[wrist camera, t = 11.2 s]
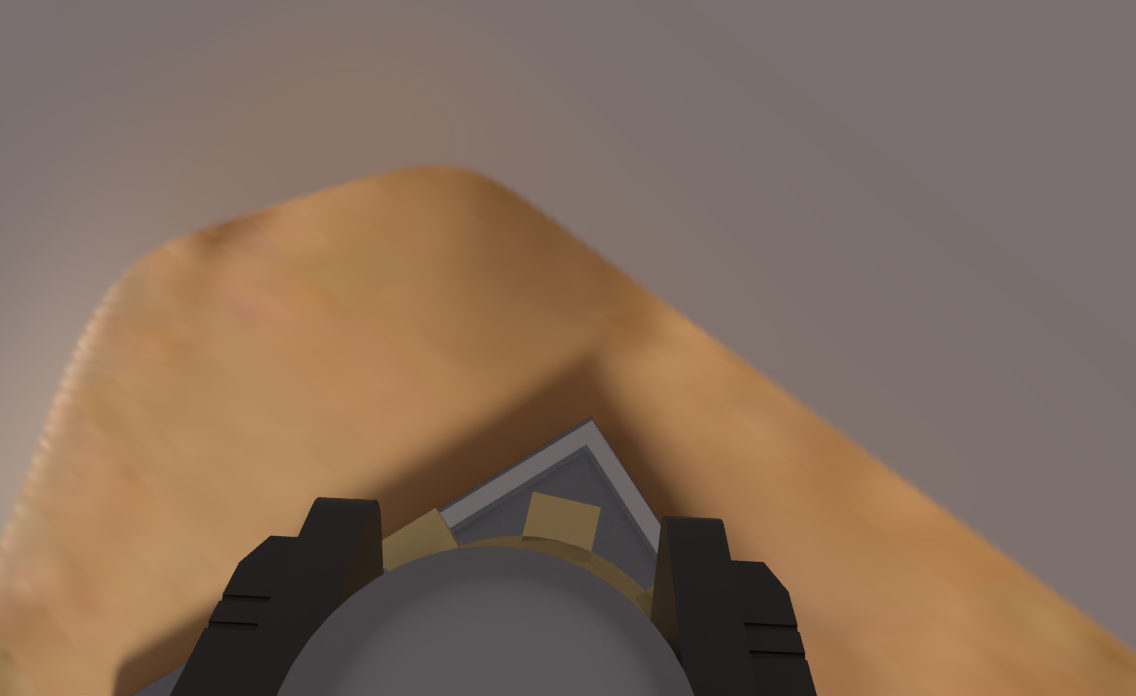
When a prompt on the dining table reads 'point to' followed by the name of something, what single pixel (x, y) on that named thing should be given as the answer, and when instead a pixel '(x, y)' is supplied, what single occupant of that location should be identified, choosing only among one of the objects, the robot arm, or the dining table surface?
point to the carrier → (560, 470)
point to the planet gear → (493, 619)
